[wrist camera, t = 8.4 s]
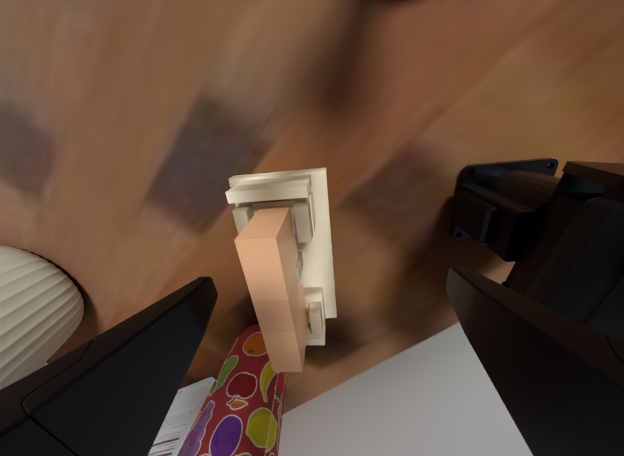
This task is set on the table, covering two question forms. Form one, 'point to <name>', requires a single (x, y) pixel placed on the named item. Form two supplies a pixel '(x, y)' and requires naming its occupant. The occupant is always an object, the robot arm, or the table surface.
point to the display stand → (297, 232)
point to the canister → (33, 312)
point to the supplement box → (180, 418)
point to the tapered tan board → (275, 285)
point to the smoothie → (241, 405)
